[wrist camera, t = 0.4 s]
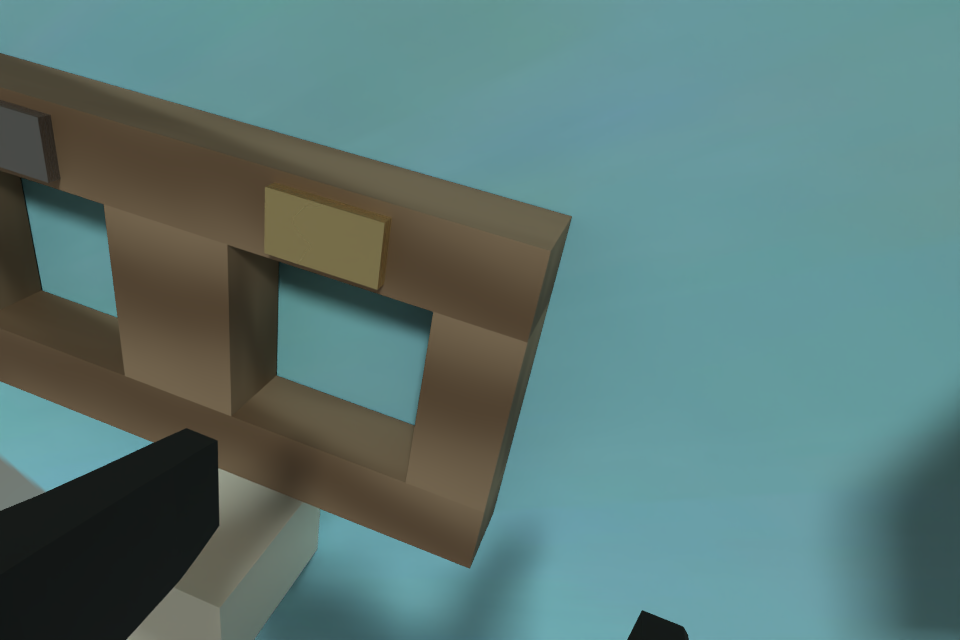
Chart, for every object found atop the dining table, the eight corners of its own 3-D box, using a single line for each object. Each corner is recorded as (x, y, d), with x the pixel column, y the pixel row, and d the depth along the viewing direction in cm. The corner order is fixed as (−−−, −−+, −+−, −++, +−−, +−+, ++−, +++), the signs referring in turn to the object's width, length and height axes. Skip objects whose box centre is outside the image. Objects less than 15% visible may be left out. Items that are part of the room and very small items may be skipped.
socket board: (493, 513, 23) (469, 568, 20) (1, 325, 26) (-62, 356, 24) (571, 216, 17) (550, 251, 15) (-67, 34, 21) (-156, 41, 19)
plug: (317, 549, 27) (223, 683, 22) (231, 513, 27) (120, 636, 22) (322, 477, 25) (219, 607, 20) (230, 441, 25) (107, 558, 20)
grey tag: (60, 179, 19) (48, 182, 18) (-30, 149, 19) (-44, 153, 19) (50, 114, 18) (37, 117, 17) (-44, 86, 18) (-59, 88, 18)
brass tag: (384, 283, 17) (377, 290, 16) (273, 247, 17) (264, 253, 17) (391, 217, 16) (384, 223, 15) (274, 182, 16) (265, 187, 16)
